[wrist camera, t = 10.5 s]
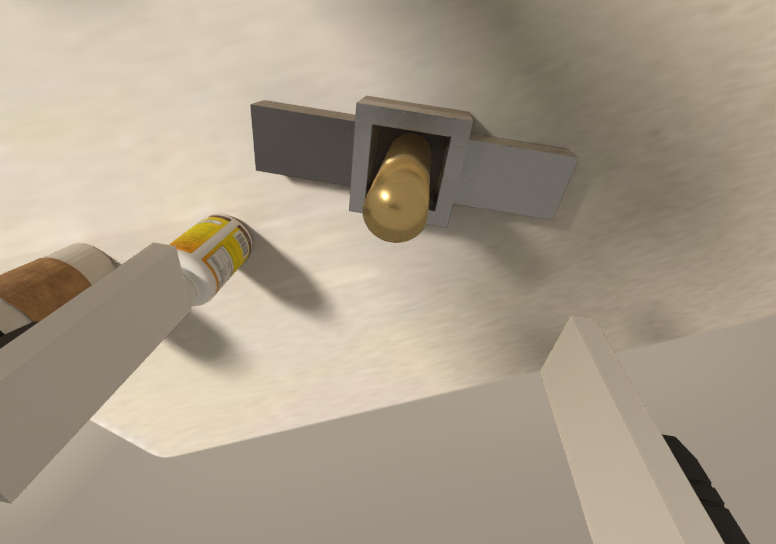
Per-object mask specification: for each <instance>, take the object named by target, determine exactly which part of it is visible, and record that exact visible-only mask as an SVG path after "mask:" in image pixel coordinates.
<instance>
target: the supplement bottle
mask: <svg viewBox="0 0 776 544" xmlns="http://www.w3.org/2000/svg"><path fill="white" fill-rule="evenodd" d="M169 245H171V246H176V249H177V253H178V257H179V261H180V265H181V269H182V273H183V277H184V281H185V285H186V289H187V293H188V297H189V302H190V306H191V307H192V306H199V305H203V304H205V303H207V302H208V301H210V300H211V299H212V298H213V297H214V296H215V295H216V293H217V292H218V291H219V290H220V289H221V288H222V286H223V285H224V284H225V283H226V282H227V281H228V280H229V279H230V277H231V276H232V275H233V274H234V273H235V272H236V271H237V269H238V268H239V267H240V266H241V265H242V264H243V263H244V261H245V260H246V259H247V258H248V257H249V255H250V253H251V251H252V239H251V236H250V234H249V232H248V231H247V229H246V228H245V227H244V226H243V225H242V224H241V223H240V222H239V221H237V220H236V219H234V218H232V217H230V216H227V215H222V214H213V215H210V216H207V217H205V218H204V219H203V220H201V221H200V222H199V223H197V224H196V225H195V226H193V227H192V228H191V229H189V230H188V231H186V232H185V233H184V234H182V235H181V236H180V237H179V238H177V239H176V240H175V241H173V242H172V243H170V244H169Z"/></svg>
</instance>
